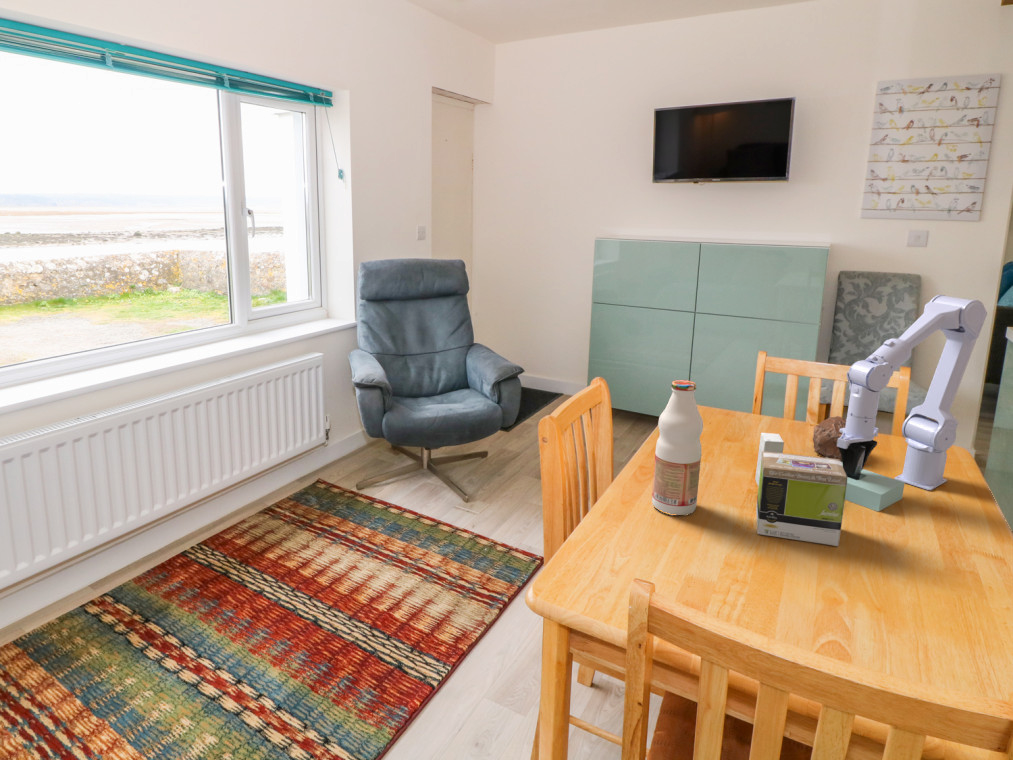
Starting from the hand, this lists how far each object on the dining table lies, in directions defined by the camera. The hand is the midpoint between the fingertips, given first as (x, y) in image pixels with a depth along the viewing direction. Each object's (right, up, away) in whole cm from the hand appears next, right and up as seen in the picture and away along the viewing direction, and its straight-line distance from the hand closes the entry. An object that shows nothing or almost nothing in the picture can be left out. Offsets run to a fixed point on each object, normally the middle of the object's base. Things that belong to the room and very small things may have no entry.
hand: (852, 471), depth 150 cm
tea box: (-21, -10, -17) cm, 29 cm away
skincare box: (-18, -4, +4) cm, 19 cm away
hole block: (0, -5, +1) cm, 5 cm away
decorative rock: (+7, +1, +23) cm, 24 cm away
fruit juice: (-43, -7, -8) cm, 44 cm away
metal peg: (0, -3, +1) cm, 3 cm away
